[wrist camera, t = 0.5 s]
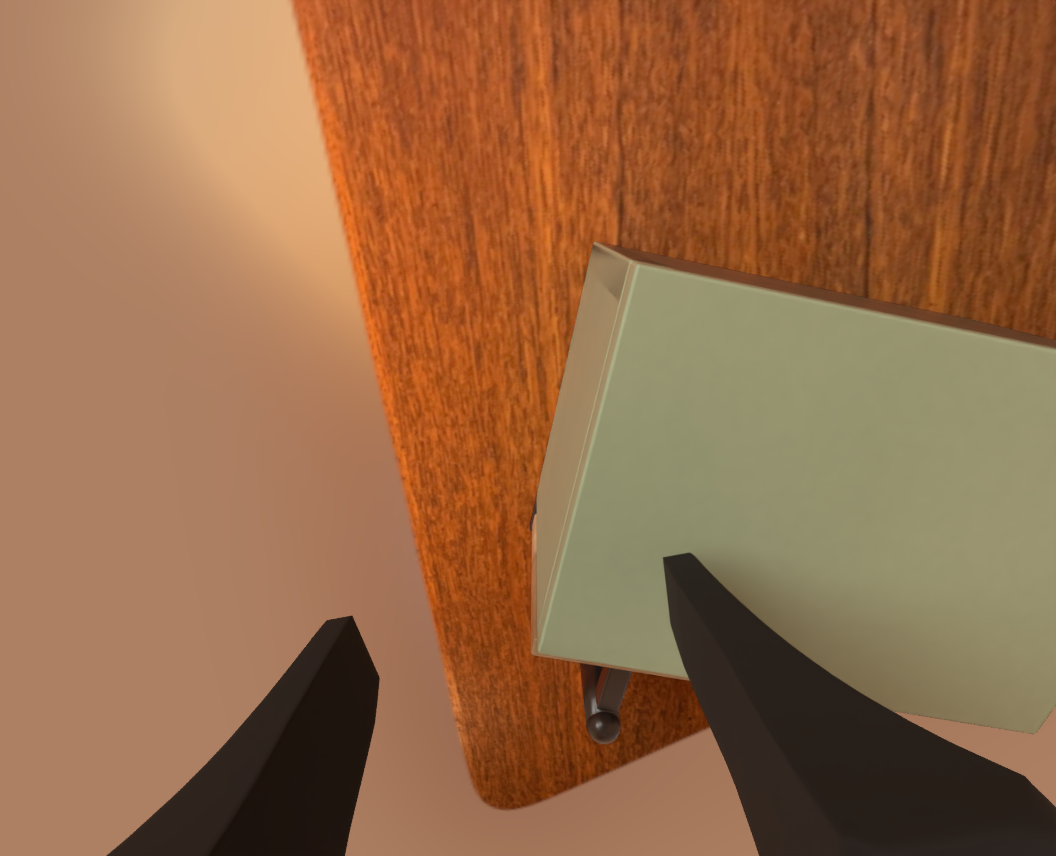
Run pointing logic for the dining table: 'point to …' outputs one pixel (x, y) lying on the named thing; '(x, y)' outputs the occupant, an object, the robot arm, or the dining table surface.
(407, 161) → the dining table surface
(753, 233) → the dining table surface
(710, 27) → the dining table surface
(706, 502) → the cupboard
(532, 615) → the sliding door
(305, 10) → the dining table surface
